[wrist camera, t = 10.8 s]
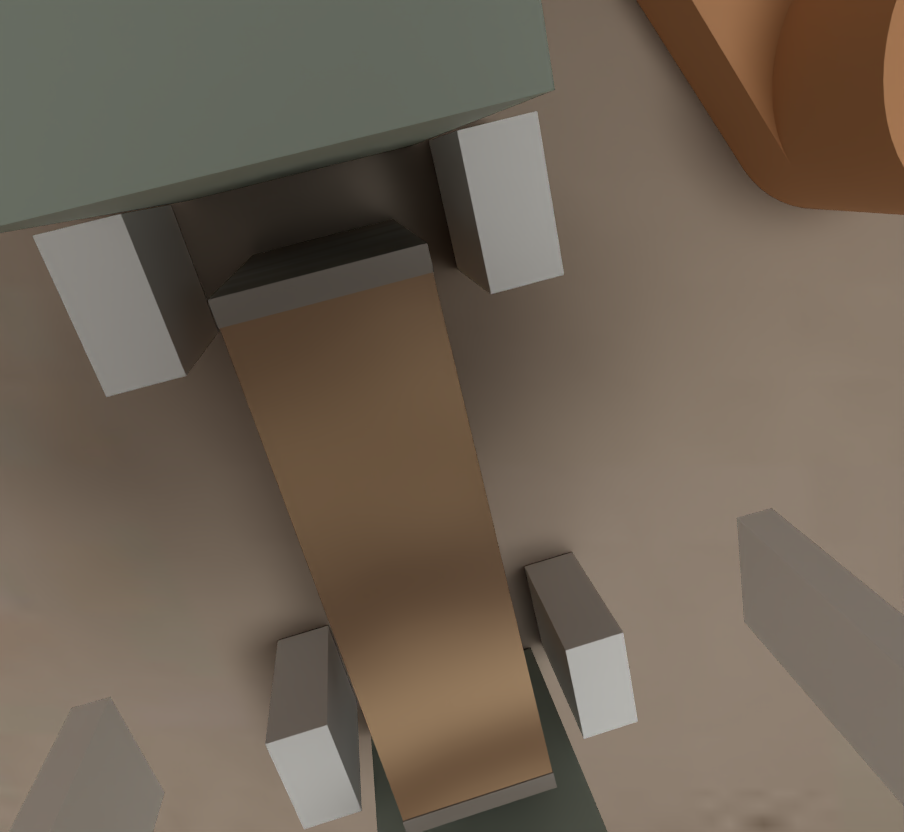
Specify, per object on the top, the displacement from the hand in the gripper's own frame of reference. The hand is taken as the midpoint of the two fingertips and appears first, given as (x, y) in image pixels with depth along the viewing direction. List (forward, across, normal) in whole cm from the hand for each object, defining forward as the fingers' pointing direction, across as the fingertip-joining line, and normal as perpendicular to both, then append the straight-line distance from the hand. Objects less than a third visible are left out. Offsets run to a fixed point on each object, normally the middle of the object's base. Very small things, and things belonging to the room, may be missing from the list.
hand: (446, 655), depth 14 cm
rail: (+11, -1, 0) cm, 11 cm away
